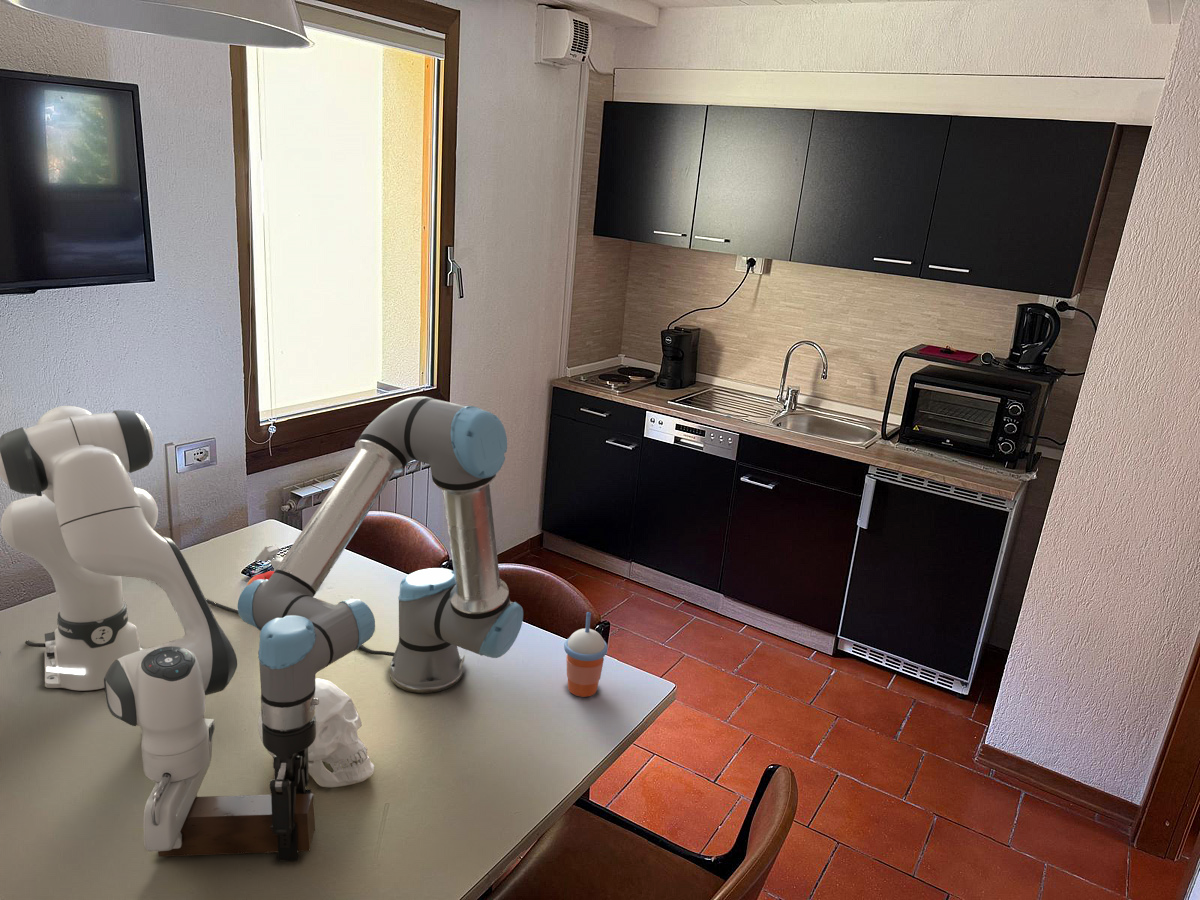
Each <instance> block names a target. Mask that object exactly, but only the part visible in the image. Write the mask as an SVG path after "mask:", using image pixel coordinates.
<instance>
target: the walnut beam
mask: <svg viewBox="0 0 1200 900" xmlns="http://www.w3.org/2000/svg"><path fill="white" fill-rule="evenodd" d="M314 798H315V797H314V793H312V792H311V794H296V803H295V823H297V843H298V852H310V850H311V846H312V843H313V839H314V835H315V832H316V818H315V817H316V816H315V815H316V814H315V799H314ZM271 826H272V800H271V794H245V795H244V794H243V795H213V796H211V795H210V796H197V797H195V799H194V802H193V804H192V806H191V808H190V811H189V813H188V815H187V817H186V820H185V822H184V824H183V826H182V829H181V831H180V832H183V834H184V841H183V843H182V845H181V847H180V848H177V849H171V850H169V851H157V854H158V857H180V856H181V857H183V856H209V855H210V856H211V855H212V856H213V855H235V854H237V855H238V854H240V855H241V854H261V853H262V854H264V853H266V854H267V853H278V834H273V832H272V830H273V829H271Z"/></svg>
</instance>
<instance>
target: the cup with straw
mask: <svg viewBox="0 0 1200 900" xmlns="http://www.w3.org/2000/svg"><path fill="white" fill-rule="evenodd" d="M591 616H592V613H591V611H587V612H586V617H585V628H580V629H577V630H575V631H574V632H573V633H572V634H571V635H570V636H569V637H568V638H567V639H566V640H565V641H564V645H563V650H564V652H565V653H566V655H565V656H566V660H565V661H566V678H567V690H568V691H569V692H570V693H571V694H572V695H573V696H576V697H582V698H586V697H591V696H594V695H595V694H596V693H597V691H598V687H599V681H600V680H601V676H602V671H603V666H604V661H605V658H604V657H605V656H606V655H607V654H608V651H609V649H608V644H607V642H606V640H604V637H602V635H601V634H600V633H599V632H598V631H596V630H595V629H592V628H591V618H592V617H591Z"/></svg>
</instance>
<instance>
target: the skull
mask: <svg viewBox="0 0 1200 900" xmlns="http://www.w3.org/2000/svg"><path fill="white" fill-rule="evenodd" d="M314 698H315V699H319V704H318V705H315V717H316V738H315V740H314V742H313V743H312V744H311V745H310V746H309V747H308V772H309V776H310V777H311V778H312V779H313V781H314V782H315V783H316V784H317V785H319V787H323V788H338V787H344V786H345V787H346V786H350V785H355V784H358V783H361V782H364V781H366V780H367V779H368V778H370V777H371V776H372V775H373V774H374V771H375V764H374V763H373V762H372V761H371V758H370V757H369V755H368V748H367V746H365V743H364V742H363V741H362V740H361V739H360V738H359V734H358V730H359V729H360V728H362V725H363V724H362V720H361V718H360V714H359V713H358V710H357V708H356V706H355V703H354V701H353V700H352V698H351V696H350V695H348V694H347V693H346V692H345V691H344V690H342V689H341V688H340V687H339V686H337V685H336V684H335V683H334V682H332V681H330V680H328V679H325V678H321V677H320V678H318V677H315V696H314ZM262 723H263V722H262V718H261V710H259V715H258V723H257V725H258V734H259V739H260V741H261V743H262V744H263V735H262ZM266 751H267V752H268V753H269V755H270V756H271V757H272V759H274V756H276V755H275V754H273V753H272V752H270V751H268V750H267V749H266ZM324 763H326V764H328V765H330V768H332V772H331V770H328V769H327V768H326V766H325V764H324Z"/></svg>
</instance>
